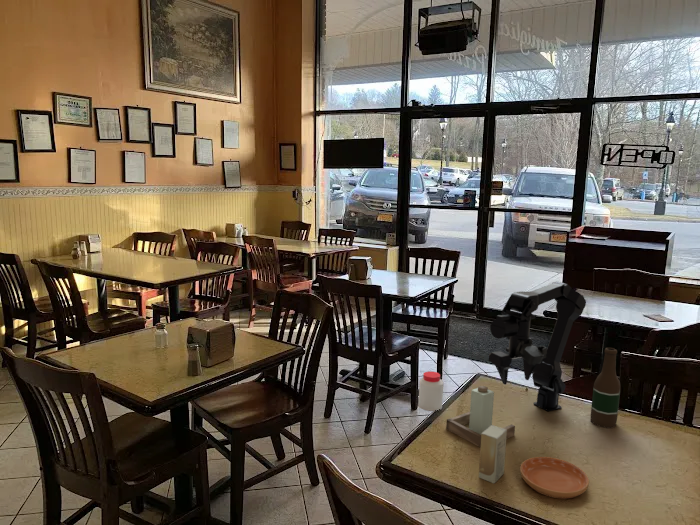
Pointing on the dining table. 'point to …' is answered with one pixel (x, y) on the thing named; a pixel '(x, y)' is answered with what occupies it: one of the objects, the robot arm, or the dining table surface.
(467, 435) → the box
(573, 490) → the saucer
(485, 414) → the block
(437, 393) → the pill bottle
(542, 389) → the robot arm
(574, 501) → the dining table surface
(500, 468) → the skincare box
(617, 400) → the beer bottle
